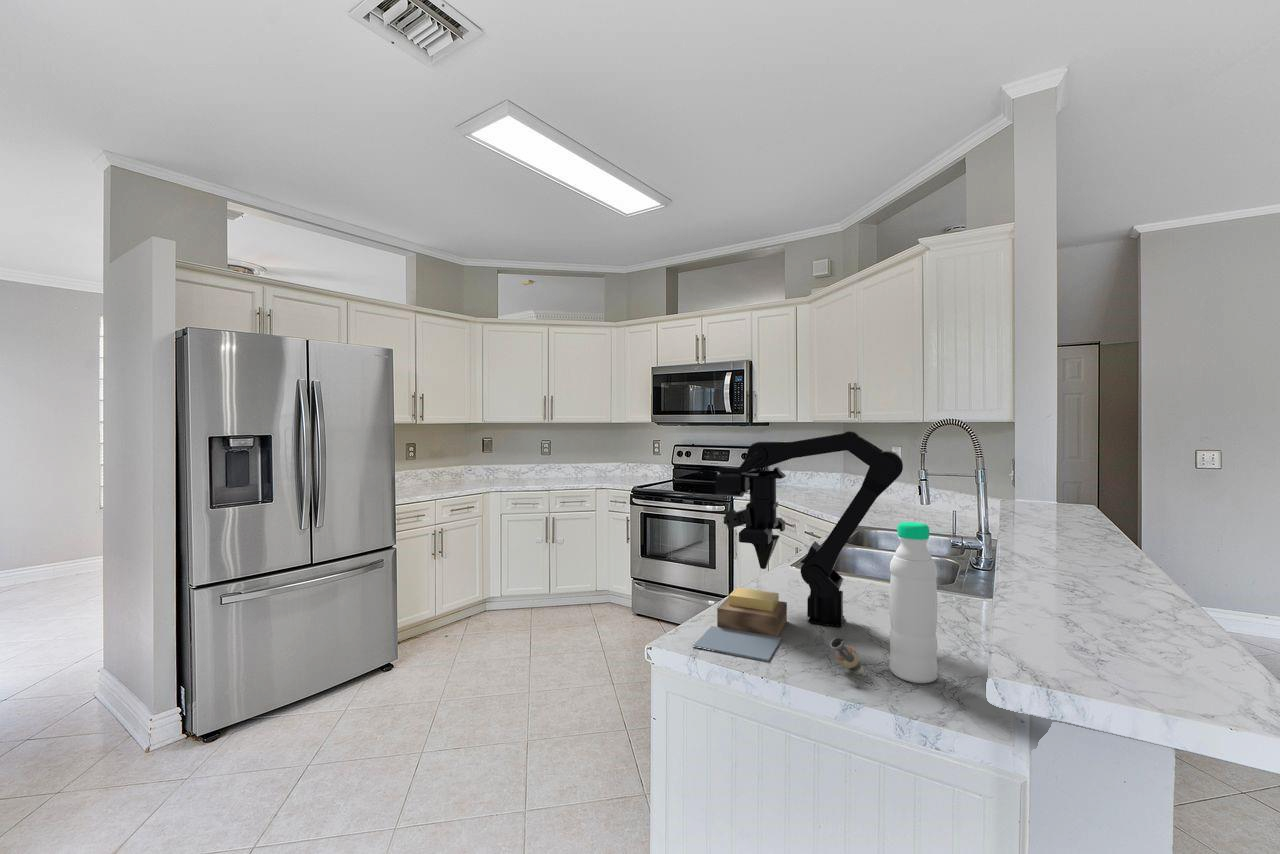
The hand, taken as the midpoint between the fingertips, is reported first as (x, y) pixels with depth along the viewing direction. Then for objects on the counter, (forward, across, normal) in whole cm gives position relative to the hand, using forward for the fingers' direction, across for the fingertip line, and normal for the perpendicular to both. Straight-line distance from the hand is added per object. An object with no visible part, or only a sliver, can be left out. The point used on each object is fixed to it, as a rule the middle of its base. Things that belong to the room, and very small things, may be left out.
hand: (763, 568), depth 120 cm
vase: (+10, +24, +19) cm, 32 cm away
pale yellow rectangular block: (+6, +8, 0) cm, 10 cm away
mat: (+10, +20, 0) cm, 22 cm away
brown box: (+10, +9, 0) cm, 13 cm away
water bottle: (+10, +20, +29) cm, 37 cm away
